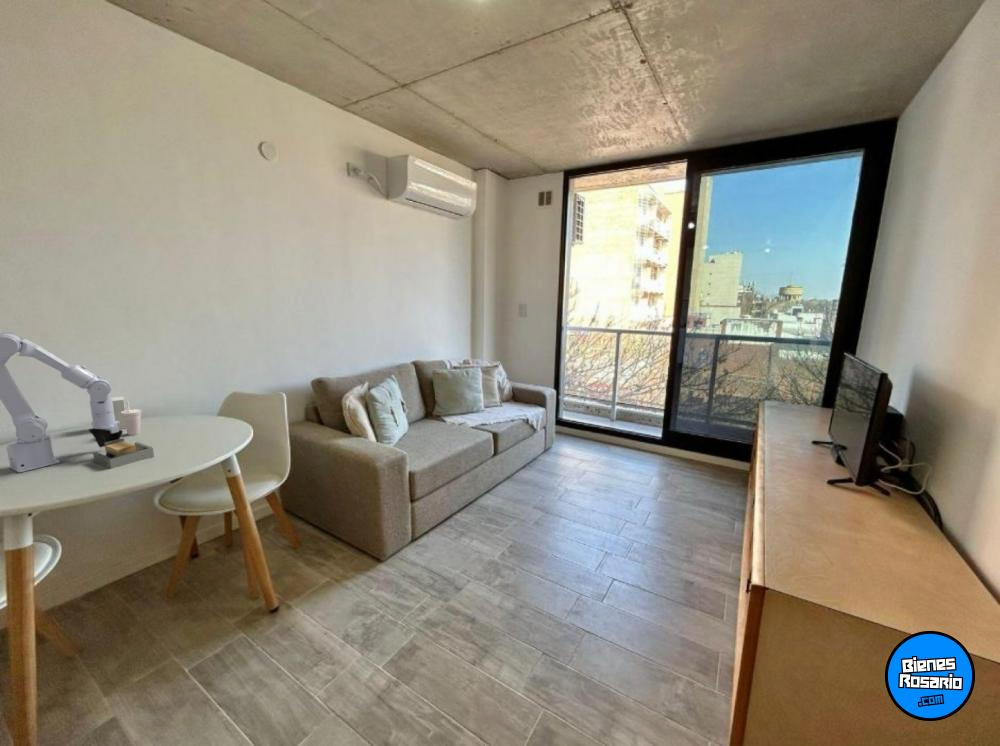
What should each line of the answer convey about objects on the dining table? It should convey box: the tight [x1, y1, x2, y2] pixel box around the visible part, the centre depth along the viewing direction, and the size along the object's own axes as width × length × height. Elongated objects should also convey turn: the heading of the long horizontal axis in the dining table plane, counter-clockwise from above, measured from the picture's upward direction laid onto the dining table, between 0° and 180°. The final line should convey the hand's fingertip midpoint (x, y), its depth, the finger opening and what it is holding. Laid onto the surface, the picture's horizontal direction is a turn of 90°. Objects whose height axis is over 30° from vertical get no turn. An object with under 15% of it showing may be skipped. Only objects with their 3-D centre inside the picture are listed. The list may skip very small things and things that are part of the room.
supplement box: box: [111, 396, 126, 430], centre depth 171 cm, size 7×7×13 cm
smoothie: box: [121, 400, 142, 436], centre depth 165 cm, size 6×6×14 cm
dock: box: [92, 441, 155, 469], centre depth 142 cm, size 12×11×3 cm
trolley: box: [104, 437, 136, 458], centre depth 143 cm, size 6×8×6 cm
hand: (108, 448), depth 147 cm, fingers open, 6 cm apart
